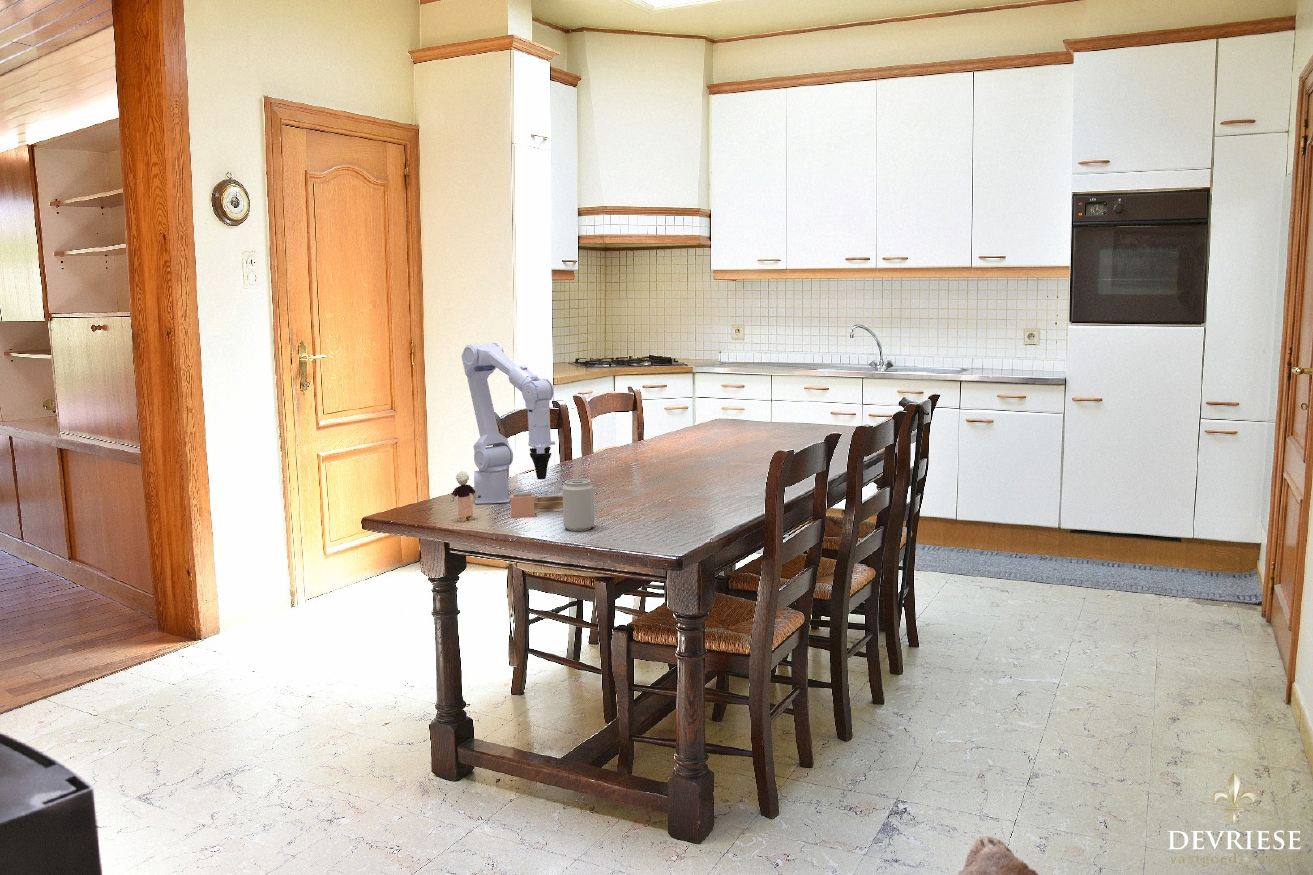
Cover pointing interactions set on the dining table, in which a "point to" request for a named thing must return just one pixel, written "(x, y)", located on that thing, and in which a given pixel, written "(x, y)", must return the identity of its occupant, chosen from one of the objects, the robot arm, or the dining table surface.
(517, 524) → the dining table surface
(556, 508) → the frame
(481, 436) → the robot arm
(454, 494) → the grandmother figurine
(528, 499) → the salmon block
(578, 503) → the can
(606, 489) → the dining table surface
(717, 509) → the dining table surface
